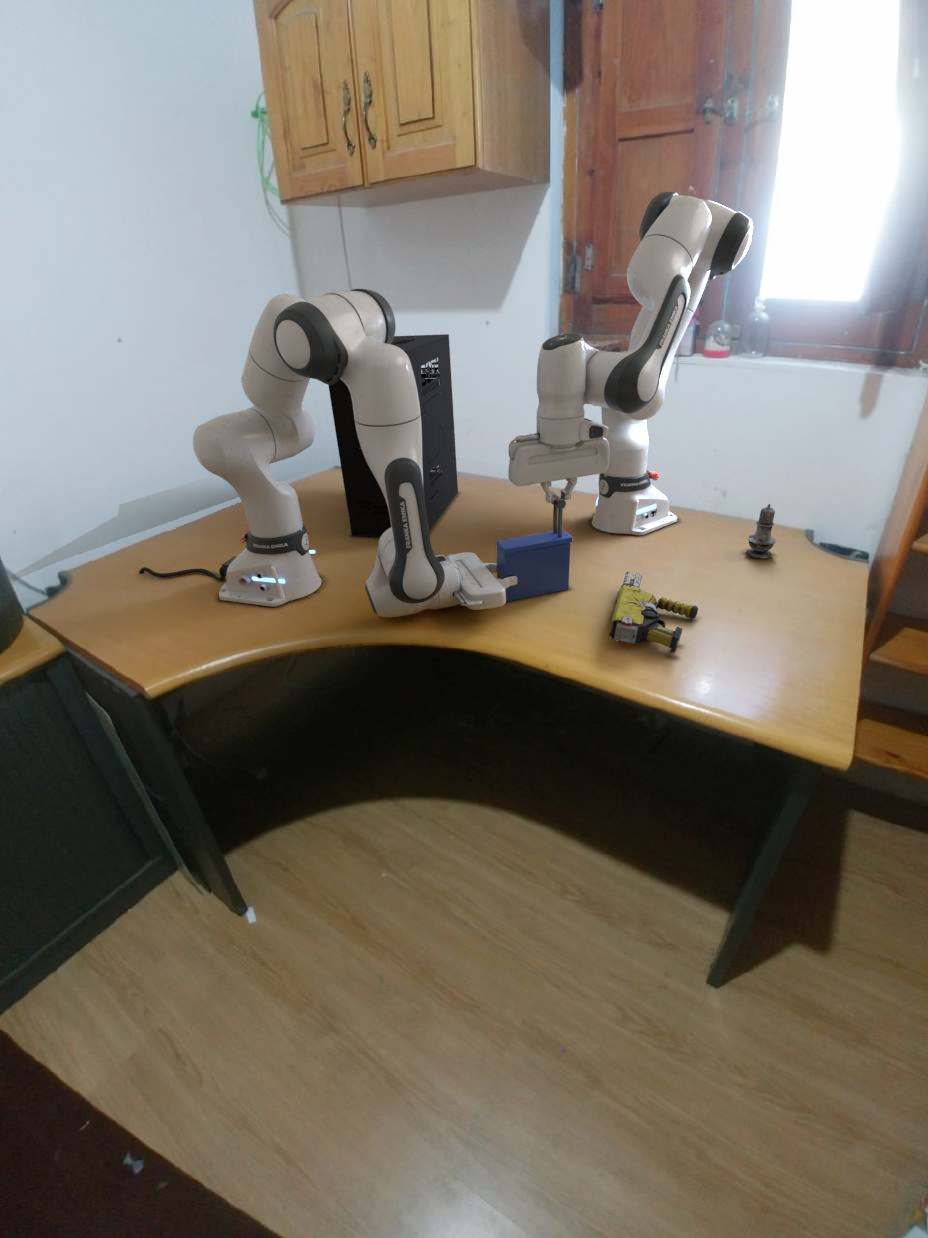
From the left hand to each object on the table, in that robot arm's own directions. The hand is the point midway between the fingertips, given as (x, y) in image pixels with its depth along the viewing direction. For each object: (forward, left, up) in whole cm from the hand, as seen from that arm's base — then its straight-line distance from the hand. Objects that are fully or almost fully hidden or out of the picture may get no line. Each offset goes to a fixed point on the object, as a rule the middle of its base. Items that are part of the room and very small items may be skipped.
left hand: (510, 573), depth 125 cm
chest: (+5, +2, -5) cm, 7 cm away
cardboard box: (-33, +50, -5) cm, 60 cm away
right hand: (+9, +4, +14) cm, 18 cm away
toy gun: (+28, -9, -5) cm, 30 cm away
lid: (+5, +2, +6) cm, 8 cm away
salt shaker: (+56, +22, -5) cm, 60 cm away
